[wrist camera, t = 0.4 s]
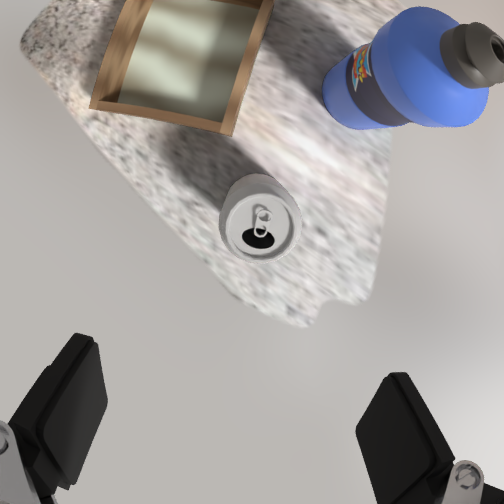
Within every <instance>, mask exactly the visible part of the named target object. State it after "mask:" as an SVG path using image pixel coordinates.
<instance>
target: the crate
mask: <svg viewBox="0 0 504 504" xmlns="http://www.w3.org/2000/svg"><path fill="white" fill-rule="evenodd" d="M274 2H275V0H126V2H125V4H124V6H123V8H122V11H121V13H120V15H119V18H118V20H117V23H116V25H115V28H114V30H113V33H112V35H111V38H110V41H109V44H108V46H107V49H106V52H105V55H104V58H103V61H102V64H101V67H100V70H99V73H98V76H97V80H96V83H95V87H94V90H93V94H92V97H91V101H90V105H89V109H94V110H100V111H105V112H111V113H118V114H124V115H130V116H136V117H142V118H148V119H153V120H159V121H164V122H169V123H174V124H179V125H184V126H188V127H193V128H197V129H202V130H206V131H210V132H214V133H219V134H223V135H227V136H230V137H232V135H233V132H234V128H235V125H236V121H237V118H238V115H239V111H240V108H241V105H242V101H243V98H244V95H245V92H246V88H247V85H248V82H249V79H250V76H251V73H252V69H253V66H254V63H255V60H256V57H257V54H258V51H259V48H260V45H261V42H262V39H263V36H264V33H265V30H266V27H267V25H268V22H269V19H270V16H271V13H272V10H273V7H274Z"/></svg>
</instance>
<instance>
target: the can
mask: <svg viewBox="0 0 504 504" xmlns="http://www.w3.org/2000/svg"><path fill="white" fill-rule="evenodd" d="M301 228H302V218H301V212H300V209H299V207H298V205H297V203H296V202H295V200H294V198H293V197H292V196H291V195H290V194H289V193H288V191H287V190H286V189H285V188H284V187H283V186H282V185H281V184H280V183H279V182H278V181H277V180H275V179H274V178H272V177H270V176H267V175H265V174H255V173H254V174H250V175H246V176H244V177H242V178H240V179H239V180H237V181H236V182H235V183H234V184H233V185H232V186H231V188H230V189H229V191H228V194H227V196H226V199H225V201H224V204H223V207H222V210H221V212H220V215H219V231H220V234H221V238H222V241H223V242H224V244H225V245H226V247H227V248H228V250H229V251H230V252H231V253H233V254H234V255H235V256H236V257H238V258H239V259H242V260H244V261H247V262H250V263H259V264H265V263H269V262H274V261H277V260H278V259H280V258H282V257H284V256H285V255H287V254H288V253H289V252H290V251H291V250H292V249H293V247H294V246H295V245H296V243H297V241H298V239H299V237H300V235H301Z"/></svg>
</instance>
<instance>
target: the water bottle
mask: <svg viewBox="0 0 504 504" xmlns="http://www.w3.org/2000/svg"><path fill="white" fill-rule="evenodd" d="M502 82H504V40H503V39H502V38H501V37H500V36H498V35H497V34H496V33H495V32H493V31H492V30H491V29H489V28H488V27H487V26H485V25H484V24H481V23H478V22H473V23H471V24H461V25H460V24H459V23H458V22H457V21H455V20H454V19H452V18H451V17H450V16H448V15H446V14H444V13H442V12H441V11H439V10H435V9H432V8H428V7H413V8H409V9H407V10H404V11H402V12H401V13H400V14H398V15H397V16H395V17H394V18H393V19H391V20H390V21H389V22H387V23H386V24H385V25H384V26H383V27H382V28H380V29H379V30H378V32H377V34H376V35H375V37H374V39H373V41H372V42H371V43H368V44H365V45H362V46H360V47H359V48H357V49H356V50H354V51H353V52H352V53H350V54H349V55H348V56H346V57H345V58H344V59H343V60H341V61H340V62H339V63H338V64H337V65H335V66H334V67H333V68H332V69H331V70H330V71H329V72H328V73H327V75H326V76H325V78H324V81H323V85H322V97H323V100H324V104H325V106H326V108H327V110H328V111H329V113H330V114H331V115H332V117H333V118H334V119H335V120H337V121H338V122H339V123H341V124H342V125H344V126H346V127H349V128H352V129H358V130H364V129H376V128H387V127H397V126H402V125H405V124H407V123H409V122H413V123H417V124H420V125H422V126H427V127H461V126H466V125H468V124H471V123H473V122H474V121H475V120H476V119H478V118H479V116H480V115H481V114H482V112H483V110H484V108H485V106H486V103H487V99H488V93H489V87H491V86H493V85H494V84H495V83H502Z"/></svg>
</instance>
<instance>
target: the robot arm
mask: <svg viewBox="0 0 504 504" xmlns="http://www.w3.org/2000/svg"><path fill="white" fill-rule="evenodd" d="M107 403H108V399H107V394H106V389H105V383H104V379H103V373H102V367H101V361H100V354H99V348H98V344H97V343H96V342H94V340H93V338H92V337H90V336H87V335H83V334H80V333H75V334H73V336H72V337H71V338H70V340H69V341H68V342H67V343H66V345H65V346H64V347H63V349H62V350H61V352H60V353H59V354H58V356H57V357H56V358H55V360H54V361H53V363H52V364H51V365H49V366H47V367H46V368H45V369H44V371H43V372H42V373H41V375H40V376H39V378H38V379H37V380H36V382H35V383H34V385H33V386H32V388H31V389H30V391H29V392H28V393H27V395H26V396H25V398H24V399H23V401H22V402H21V404H20V406H19V407H18V408H17V410H16V412H15V413H14V415H13V416H12V418H11V419H10V421H9V423H8V424H6V423H5V422H3V421H0V504H58V503H57V501H56V499H55V496H54V494H55V491H56V488H57V486H59V487H61V488H64V489H66V490H69V488H70V485H71V484H72V485H74V484H76V482H77V479H78V477H79V475H80V472H81V469H82V466H83V464H84V461H85V459H86V456H87V454H88V451H89V449H90V446H91V444H92V441H93V439H94V436H95V434H96V432H97V429H98V427H99V424H100V422H101V420H102V417H103V415H104V412H105V410H106V407H107ZM356 437H357V440H358V443H359V446H360V449H361V452H362V455H363V458H364V462H365V465H366V468H367V471H368V474H369V478H370V481H371V484H372V487H373V491H374V494H375V497H376V501H377V504H504V491H503V490H500V489H498V488H495V487H493V486H490V485H488V484H485V483H484V475H483V472H482V470H481V469H480V467H479V466H478V465H477V464H475V463H473V462H472V461H467V460H463V461H460V462H457V463H456V464H455V465H454V464H453V461H454V460H455V457H454V455H453V453H452V451H451V449H450V447H449V445H448V443H447V442H446V440H445V438H444V436H443V434H442V432H441V431H440V429H439V427H438V425H437V423H436V421H435V420H434V418H433V416H432V414H431V413H430V411H429V409H428V407H427V406H426V404H425V402H424V400H423V399H422V397H421V395H420V394H419V392H418V390H417V388H416V387H415V385H414V383H413V382H412V380H411V378H410V377H409V375H408V374H407V373H406V372H393V373H390V374H389V375H388V376H387V377H385V378H384V379H383V381H382V383H381V384H380V386H379V388H378V390H377V392H376V394H375V395H374V397H373V399H372V401H371V403H370V404H369V406H368V408H367V410H366V411H365V413H364V415H363V416H362V418H361V419H360V421H359V423H358V424H357V426H356Z"/></svg>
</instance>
